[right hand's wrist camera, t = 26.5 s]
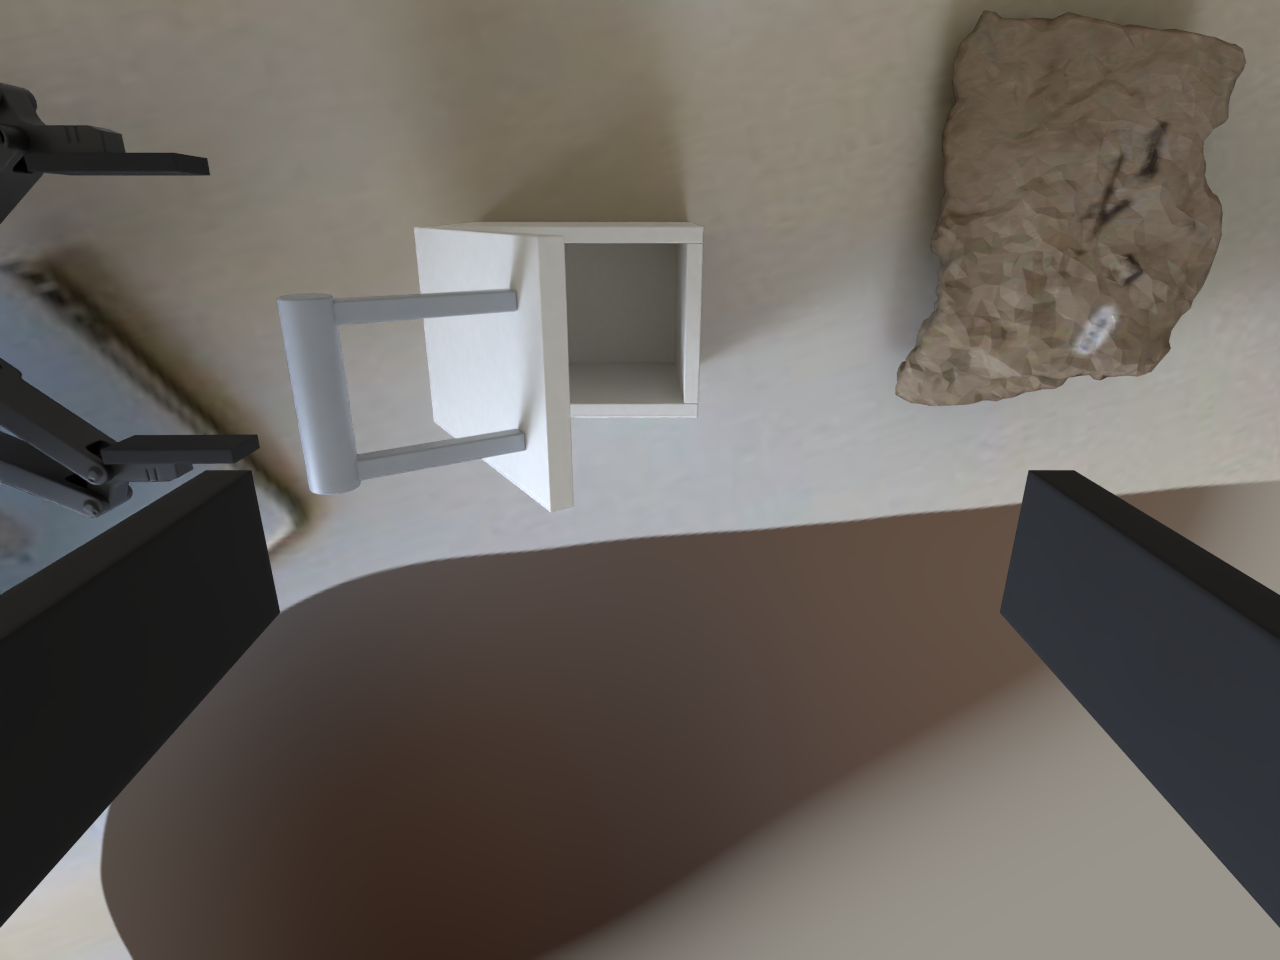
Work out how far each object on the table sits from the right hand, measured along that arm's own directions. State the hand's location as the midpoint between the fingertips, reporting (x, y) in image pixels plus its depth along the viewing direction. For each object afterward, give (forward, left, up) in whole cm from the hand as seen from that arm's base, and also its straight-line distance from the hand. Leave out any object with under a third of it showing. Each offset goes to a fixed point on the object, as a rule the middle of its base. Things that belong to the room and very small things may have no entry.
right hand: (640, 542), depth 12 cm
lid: (+6, 0, -18) cm, 19 cm away
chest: (+3, 0, -35) cm, 35 cm away
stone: (-23, -5, -35) cm, 42 cm away
